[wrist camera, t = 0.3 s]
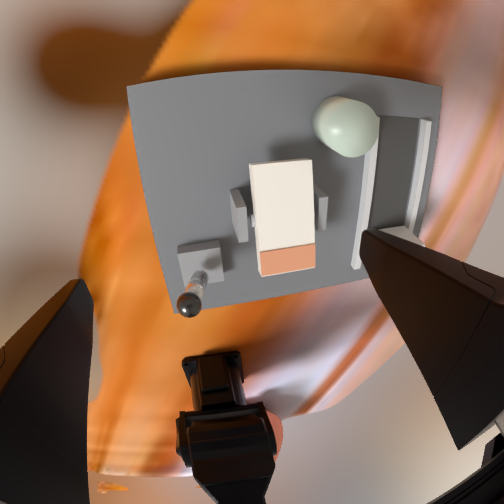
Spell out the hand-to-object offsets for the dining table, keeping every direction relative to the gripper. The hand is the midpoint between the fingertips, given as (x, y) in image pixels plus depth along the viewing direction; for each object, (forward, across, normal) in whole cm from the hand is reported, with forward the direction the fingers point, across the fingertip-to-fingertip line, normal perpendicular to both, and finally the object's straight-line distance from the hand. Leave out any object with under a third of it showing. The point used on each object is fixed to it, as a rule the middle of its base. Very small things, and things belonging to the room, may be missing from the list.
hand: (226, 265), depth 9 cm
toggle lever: (+10, +1, +7) cm, 13 cm away
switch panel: (+14, -7, +4) cm, 16 cm away
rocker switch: (+9, -4, +4) cm, 11 cm away
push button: (+11, -9, -2) cm, 14 cm away
